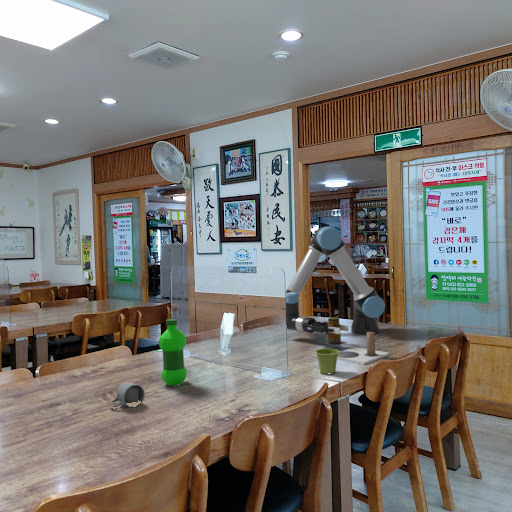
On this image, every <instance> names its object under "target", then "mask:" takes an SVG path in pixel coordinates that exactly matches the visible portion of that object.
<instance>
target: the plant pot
mask: <svg viewBox="0 0 512 512" xmlns="http://www.w3.org/2000/svg"><path fill="white" fill-rule="evenodd" d="M339 352H340V351H339V350H338V349H334V348H319V349H316V350H315V355H316V357H317V362H318V363H317V364H318V369H319V374H322V373H323V374H322V375H324V374H328V373H334V372H335V373H336V369H337V363H338V362H337V356H338V353H339Z"/></svg>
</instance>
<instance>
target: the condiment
mask: <svg viewBox="0 0 512 512" xmlns="http://www.w3.org/2000/svg"><path fill="white" fill-rule="evenodd" d="M327 322H328V327H336V328H340V325H341V323H340V318H339V317H329V318H328V319H327ZM341 338H342V337H341V334H335V333H328V334H327V341H326V342H324V344H327V345H333V346H340V345H345V344H347V342H345V341H342V340H341Z"/></svg>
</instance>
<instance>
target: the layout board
mask: <svg viewBox="0 0 512 512" xmlns="http://www.w3.org/2000/svg"><path fill="white" fill-rule="evenodd" d="M387 356H390V352H388V351H387V352H386V351H381V350H376V333H375V332H367V334H366V348H365V347H364V348H363V347H357V346H354V347H351V348H348V349H345V350H341V351H339V353H338V356H337V360H338V361H342V360H343V361H344V362H347V361H348V363H352V362H354V363H353V364H357V363H360V364H359V365H362V364H365V365H367V364H369V363H372V362H374V361H378V360H380V359H382V358H385V357H387ZM366 363H367V364H366Z"/></svg>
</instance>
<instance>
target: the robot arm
mask: <svg viewBox="0 0 512 512" xmlns="http://www.w3.org/2000/svg"><path fill="white" fill-rule="evenodd" d="M345 247H346V243H345V242H344V240H343V238H342V235H341V233H340V231H339V230H338V229H337V228H335V227H333V226H329V225H328V226H323V227H320V228H318V229H317V230H316V231H315V232H314V235H313V236H312V239H311V241H310V242H309V245H308V250H307V252H306V254H305V256H304V258H303V259H302V261H301V263H300V265H299V267H298V268H297V270H296V272H295V274H294V276H293V278H292V280H291V281H290V284H289V285H288V287H287V289H286V291H285V292H286V325H287V329H286V330H289V331H297V332H301V333H309V334H313V333H314V332H315V333H321V334H325V335H328V333H335V334H341V331H342V332H350V331H351V333H354V334H359V335H360V334H361V335H367V332H375V334H376V333H380V326H379V323H378V321H377V318H378V317H380V316H381V315H383V313H384V312H385V308H386V304H385V301H384V299H383V298H382V297H380V296H379V295H378V293H377V292H376V290H375V288H374V287H372V286H369V285H368V283H367V282H366V280H365V278H364V277H363V275H362V274H361V272H360V271H359V269H358V268H357V265H355V263H354V261H353V260H352V258H351V257H350V255H349V253H348V252H347V251H346V249H345ZM324 255H325V257H328V258H330V260H331V262H333V264H334V266H335V268H336V269H337V270H338V271H339V273H340V275H341V276H342V277H343V279H344V281H345V282H346V284H347V286H348V287H349V289H350V290H351V292H352V293H353V295H352V297H353V299H352V300H353V321H352V323H351V327H349V325H345V324H340V328H336V327H328V321H326V320H325V321H323V322H322V321H317V319H315V318H313V317H308V316H300V307H299V306H300V304H299V300H300V299H299V297H300V295H301V293H302V291H303V289H304V287H305V286H306V284H307V283H308V280H309V279H310V277H311V275H312V274H313V271H314V270H315V268H316V266H317V264H318V262H319V260H320V259H321V258H322V256H324ZM280 325H281V327H282V320H281V319H280ZM350 329H351V330H350Z"/></svg>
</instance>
